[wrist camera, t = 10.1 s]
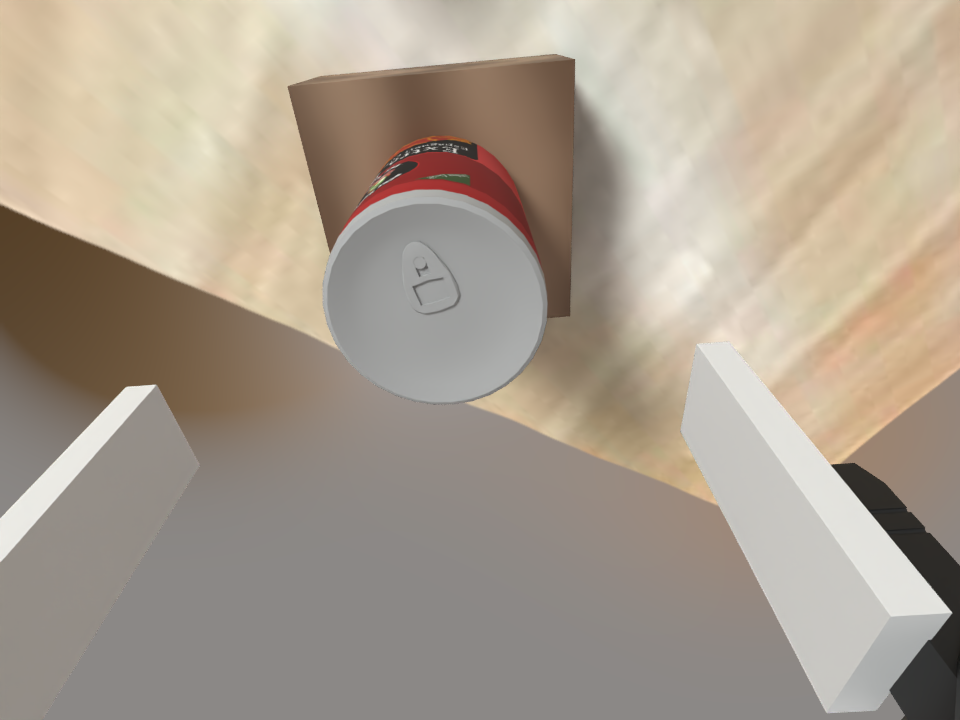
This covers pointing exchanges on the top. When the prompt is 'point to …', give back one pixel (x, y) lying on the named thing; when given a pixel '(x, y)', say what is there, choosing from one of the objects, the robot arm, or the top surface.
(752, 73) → the top surface
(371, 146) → the walnut stand
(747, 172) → the top surface
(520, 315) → the canned food
